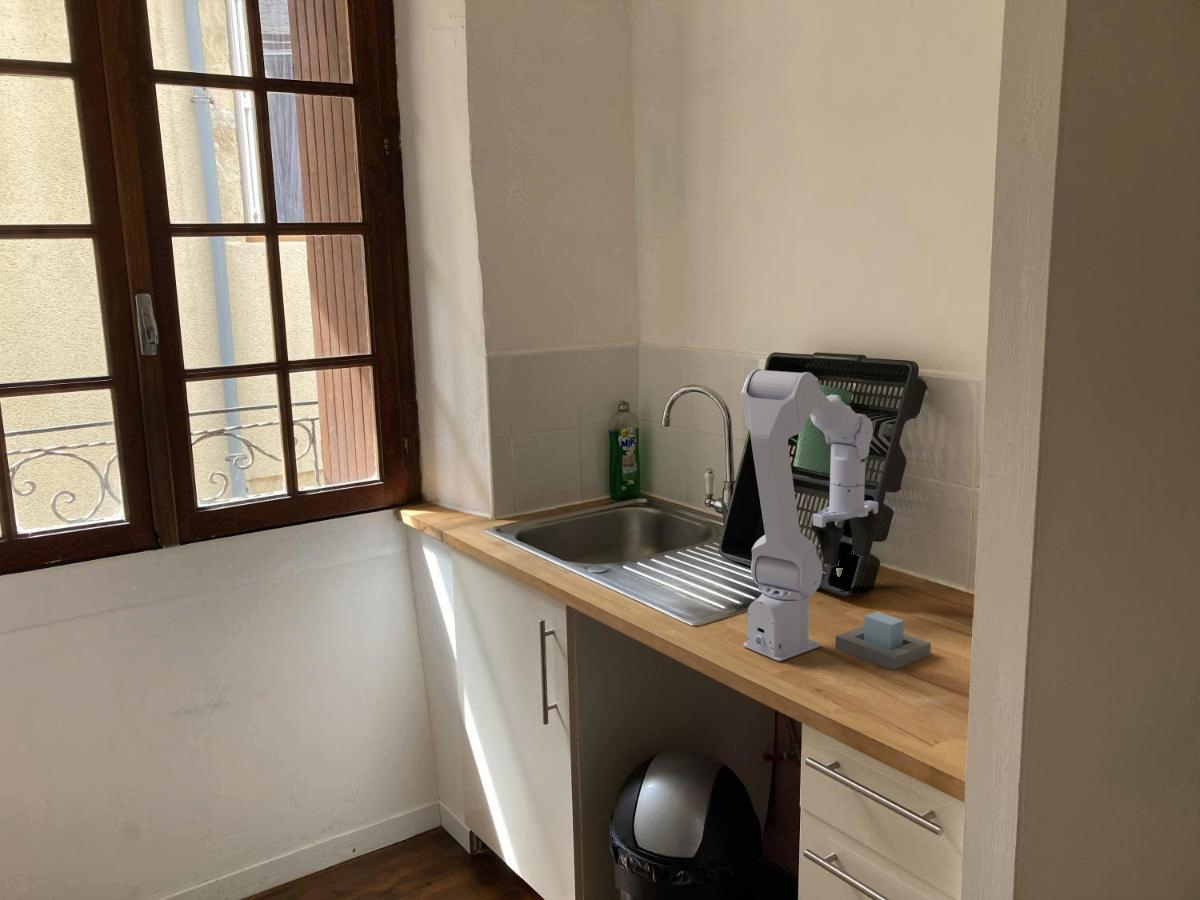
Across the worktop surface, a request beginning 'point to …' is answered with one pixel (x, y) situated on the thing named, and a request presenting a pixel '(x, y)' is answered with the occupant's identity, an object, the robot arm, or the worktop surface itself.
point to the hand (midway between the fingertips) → (844, 559)
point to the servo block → (884, 630)
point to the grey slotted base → (883, 649)
